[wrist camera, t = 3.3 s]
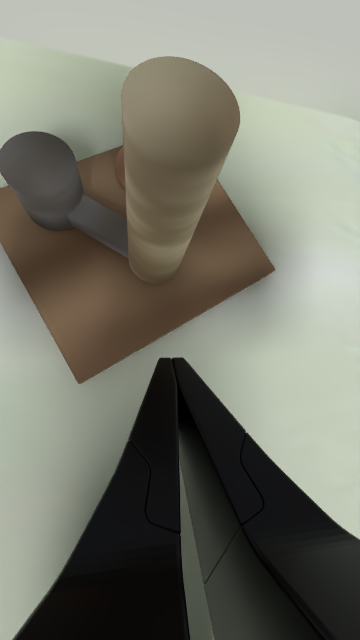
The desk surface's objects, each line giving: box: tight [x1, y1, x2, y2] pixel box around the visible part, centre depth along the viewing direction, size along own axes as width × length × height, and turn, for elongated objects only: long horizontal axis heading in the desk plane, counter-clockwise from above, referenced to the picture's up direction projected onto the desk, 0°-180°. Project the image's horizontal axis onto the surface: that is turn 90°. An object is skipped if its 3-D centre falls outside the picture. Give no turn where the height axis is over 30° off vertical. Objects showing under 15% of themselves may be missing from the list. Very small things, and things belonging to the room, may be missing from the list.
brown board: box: [0, 146, 275, 384], centre depth 17 cm, size 13×15×1 cm
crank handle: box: [0, 57, 240, 285], centre depth 12 cm, size 10×4×10 cm, turn 61°
